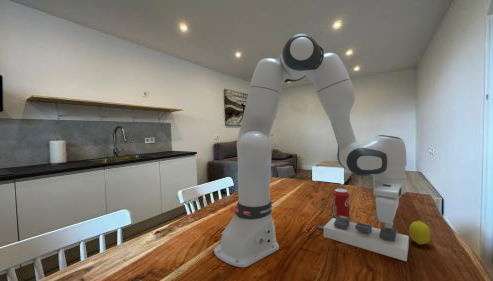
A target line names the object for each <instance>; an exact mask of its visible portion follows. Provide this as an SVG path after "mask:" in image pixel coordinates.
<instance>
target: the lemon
mask: <svg viewBox="0 0 493 281" xmlns="http://www.w3.org/2000/svg"><path fill="white" fill-rule="evenodd" d="M408 233H409V238H411V240H412V241H414V242H415V243H416V244H418V245H419V246H421V245H424V244H425V245H426V244H427V243H429V242H430V241H431V236H432V235H431V230H430V227H429V226H428V225H427V224H426V223H424V222H423V221H421V220H416V221H412V223H411V224H410V225H409V228H408Z"/></svg>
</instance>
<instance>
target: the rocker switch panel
mask: <svg viewBox="0 0 493 281" xmlns="http://www.w3.org/2000/svg"><path fill="white" fill-rule="evenodd" d="M335 221H336V217H332V218H331V219H330V220H329V221H328V222H327V223H326V224H325V225H324V226H322V225H319V224H318V225H317V229H318V230H321V231H323V237H324V238H327V239H330V240H334V241H336V242H337V241H338V242H340V243H344V244H347V245H350V246H354V247H357V248H360V249H363V250H367V251H370V252H373V253H377V254H380V255H382V256H383V255H384V256H387V257H390V258H394V259H398V260H400V261H404V262H407V260H408V253H409V246H410V245H409V244H410V241H409V240H410V235H406V234H402V233H398V232H397V234H396V238H395V241H391V240H387V239H383V238H380V235H379V234H380V231H381V228H376V227H373V226H372V229H371V231H370V232H365V231H361V230H357V229H355V225H357V223H355V222H351V221H350V223H349V225H348V226H347V228H346V229H343V228H339V227H335V226H334V222H335Z"/></svg>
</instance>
